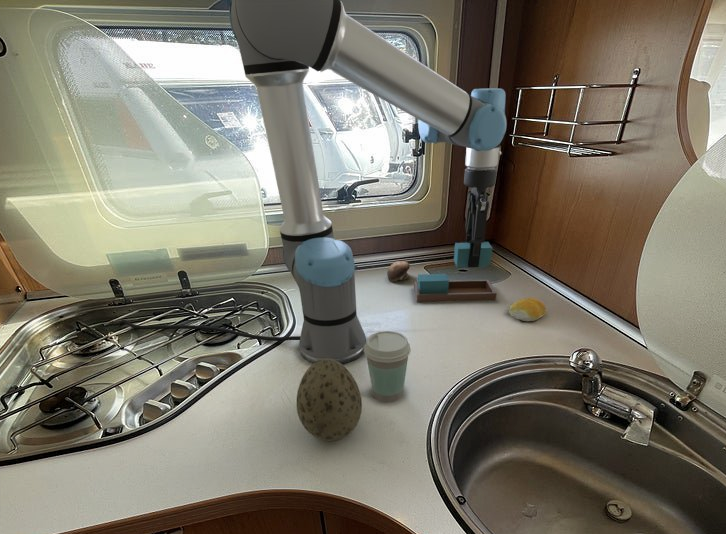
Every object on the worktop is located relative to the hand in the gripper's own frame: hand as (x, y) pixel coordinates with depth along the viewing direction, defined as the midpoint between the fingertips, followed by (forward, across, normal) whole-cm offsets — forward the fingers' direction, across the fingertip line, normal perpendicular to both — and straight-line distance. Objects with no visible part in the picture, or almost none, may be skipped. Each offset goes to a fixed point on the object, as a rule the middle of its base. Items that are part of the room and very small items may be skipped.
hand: (471, 262), depth 114 cm
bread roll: (+10, -13, -13) cm, 21 cm away
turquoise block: (+9, 0, +10) cm, 13 cm away
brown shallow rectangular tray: (+9, 0, +4) cm, 10 cm away
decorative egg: (+9, -56, +34) cm, 66 cm away
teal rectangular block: (0, 0, 0) cm, 0 cm away
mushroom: (+10, +12, +19) cm, 25 cm away
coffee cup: (+9, -45, +24) cm, 52 cm away
